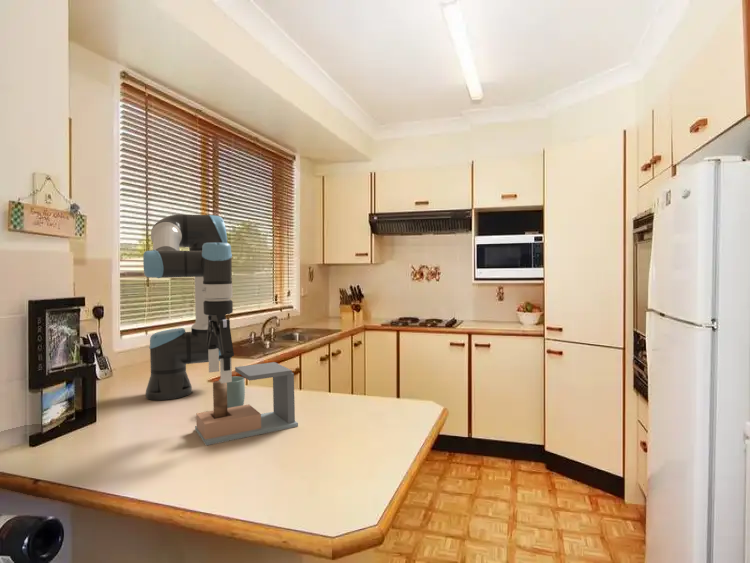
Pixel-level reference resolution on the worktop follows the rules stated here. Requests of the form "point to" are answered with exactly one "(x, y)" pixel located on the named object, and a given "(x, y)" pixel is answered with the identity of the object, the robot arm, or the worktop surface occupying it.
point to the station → (246, 417)
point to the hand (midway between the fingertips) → (219, 376)
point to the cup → (235, 392)
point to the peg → (220, 399)
